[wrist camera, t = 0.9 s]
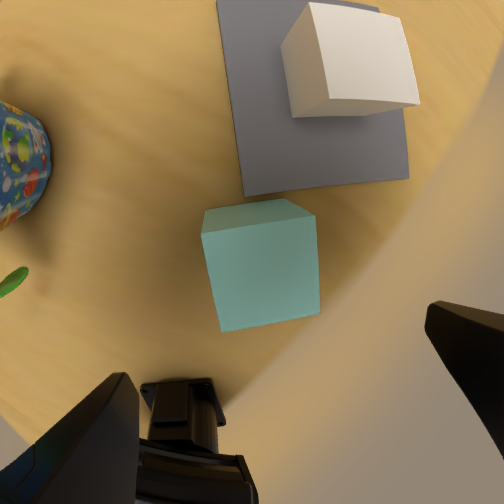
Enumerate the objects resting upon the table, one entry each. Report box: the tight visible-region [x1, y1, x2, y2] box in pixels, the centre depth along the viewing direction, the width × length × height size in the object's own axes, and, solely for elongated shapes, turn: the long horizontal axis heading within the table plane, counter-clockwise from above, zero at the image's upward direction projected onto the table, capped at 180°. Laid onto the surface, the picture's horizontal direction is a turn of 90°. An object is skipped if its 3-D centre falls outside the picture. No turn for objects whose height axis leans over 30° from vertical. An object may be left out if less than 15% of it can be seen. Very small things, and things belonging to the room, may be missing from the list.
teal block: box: [201, 198, 320, 332], centre depth 16 cm, size 5×5×6 cm
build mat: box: [216, 0, 409, 197], centre depth 15 cm, size 14×12×1 cm
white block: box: [280, 2, 420, 118], centre depth 12 cm, size 5×5×6 cm
